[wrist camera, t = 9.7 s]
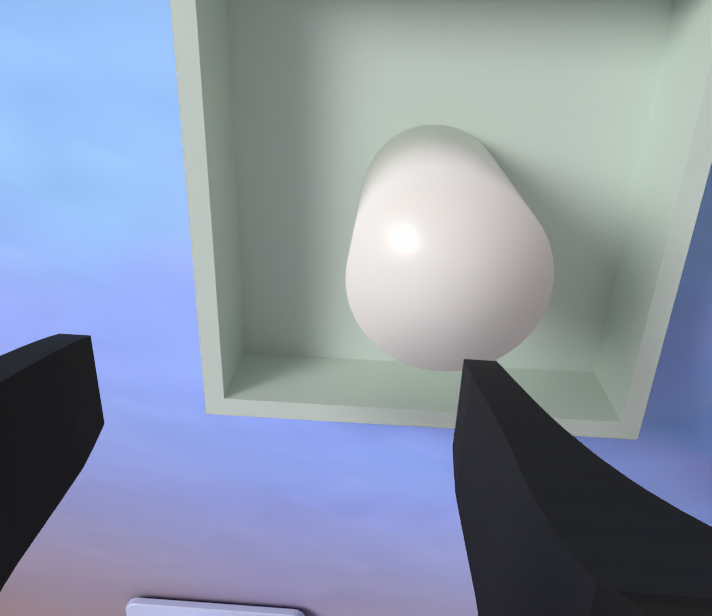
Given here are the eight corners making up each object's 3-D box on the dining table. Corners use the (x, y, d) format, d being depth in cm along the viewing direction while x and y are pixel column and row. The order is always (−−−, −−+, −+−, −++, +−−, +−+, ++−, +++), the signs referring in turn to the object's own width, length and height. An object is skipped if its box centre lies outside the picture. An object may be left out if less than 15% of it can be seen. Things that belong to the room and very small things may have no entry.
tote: (603, 379, 22) (637, 439, 19) (233, 358, 23) (205, 413, 19) (701, -51, 16) (773, -67, 13) (206, -64, 17) (162, -83, 14)
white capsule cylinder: (496, 259, 20) (544, 371, 13) (364, 260, 20) (349, 371, 14) (505, 122, 18) (564, 176, 12) (360, 126, 18) (340, 181, 12)
